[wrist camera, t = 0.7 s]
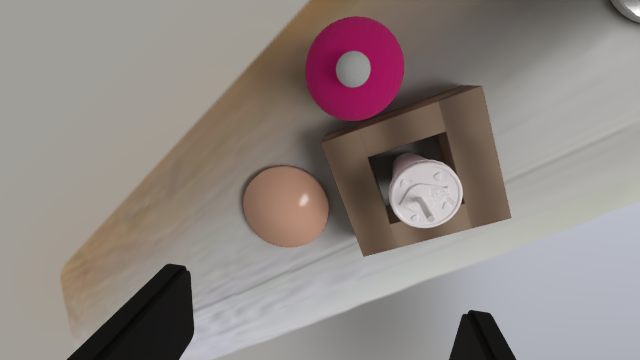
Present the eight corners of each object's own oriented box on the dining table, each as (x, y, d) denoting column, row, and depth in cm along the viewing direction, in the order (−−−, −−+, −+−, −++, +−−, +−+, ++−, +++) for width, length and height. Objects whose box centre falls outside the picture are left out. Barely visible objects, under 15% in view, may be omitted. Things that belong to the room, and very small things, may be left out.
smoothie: (374, 151, 36) (384, 192, 23) (428, 133, 35) (472, 164, 21) (390, 199, 38) (409, 263, 24) (442, 183, 36) (492, 241, 23)
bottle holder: (463, 85, 33) (482, 85, 28) (491, 200, 36) (511, 218, 31) (325, 135, 36) (320, 143, 31) (362, 235, 40) (363, 256, 35)
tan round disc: (310, 153, 37) (309, 155, 36) (340, 231, 40) (340, 234, 39) (232, 180, 39) (229, 183, 38) (265, 252, 42) (263, 256, 41)
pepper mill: (314, 97, 35) (265, 116, 16) (334, 31, 33) (304, -39, 14) (373, 117, 35) (394, 160, 16) (398, 52, 32) (456, 12, 14)
